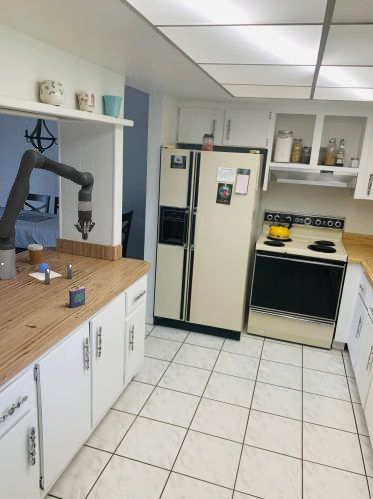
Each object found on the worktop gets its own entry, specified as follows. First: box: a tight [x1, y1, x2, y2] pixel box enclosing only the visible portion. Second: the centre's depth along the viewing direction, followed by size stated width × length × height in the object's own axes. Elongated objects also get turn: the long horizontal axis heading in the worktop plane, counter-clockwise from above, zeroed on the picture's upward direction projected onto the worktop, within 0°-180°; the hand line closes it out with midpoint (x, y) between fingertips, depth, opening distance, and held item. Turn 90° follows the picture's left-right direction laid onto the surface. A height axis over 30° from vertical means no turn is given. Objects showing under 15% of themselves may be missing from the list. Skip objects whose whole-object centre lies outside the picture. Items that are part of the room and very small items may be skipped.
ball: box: [37, 262, 50, 273], centre depth 236 cm, size 6×6×6 cm
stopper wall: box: [17, 264, 40, 273], centre depth 240 cm, size 18×2×2 cm, turn 141°
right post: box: [66, 263, 73, 280], centre depth 228 cm, size 3×3×9 cm
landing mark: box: [28, 270, 63, 281], centre depth 232 cm, size 14×14×1 cm
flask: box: [68, 284, 86, 309], centre depth 191 cm, size 9×3×11 cm, turn 144°
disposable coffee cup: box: [27, 243, 44, 265], centre depth 251 cm, size 10×10×12 cm
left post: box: [44, 267, 51, 286], centre depth 217 cm, size 3×3×9 cm
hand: (84, 239), depth 217 cm, fingers closed
